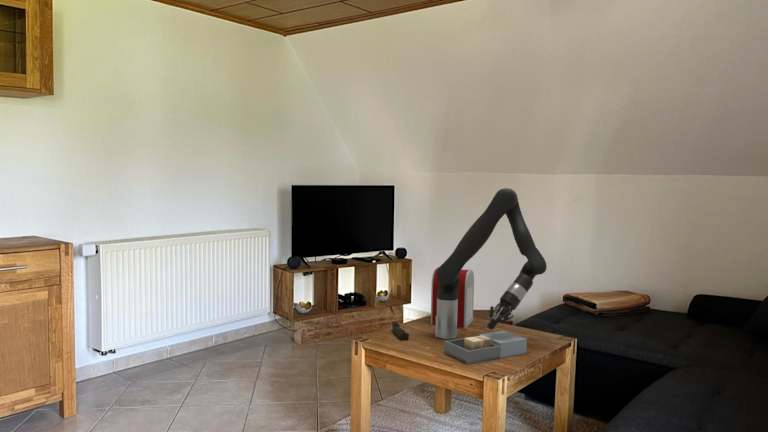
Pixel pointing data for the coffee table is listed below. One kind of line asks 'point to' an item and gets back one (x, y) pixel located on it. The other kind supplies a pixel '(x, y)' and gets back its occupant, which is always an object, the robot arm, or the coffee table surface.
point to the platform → (508, 343)
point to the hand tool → (399, 331)
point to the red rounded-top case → (463, 298)
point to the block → (476, 342)
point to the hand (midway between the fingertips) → (489, 328)
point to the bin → (471, 352)
